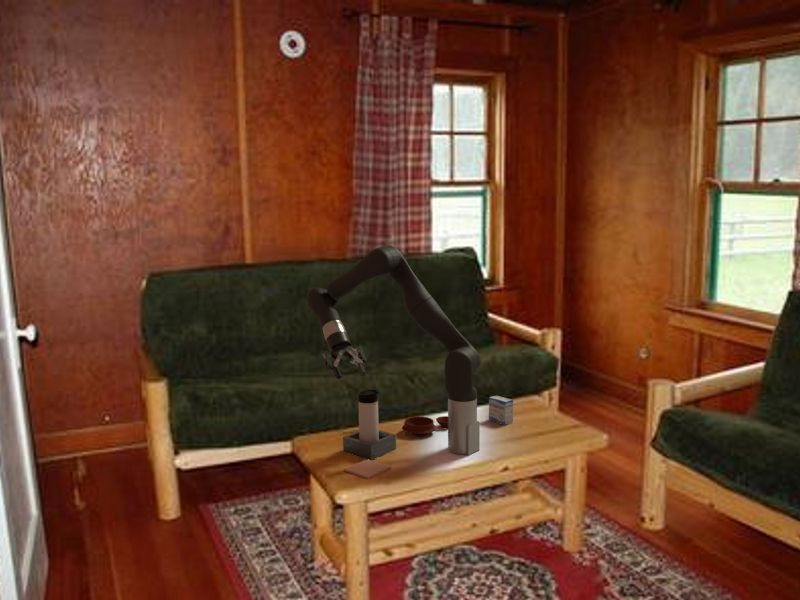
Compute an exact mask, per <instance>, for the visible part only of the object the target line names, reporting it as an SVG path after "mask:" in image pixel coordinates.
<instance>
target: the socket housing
mask: <svg viewBox="0 0 800 600" xmlns="http://www.w3.org/2000/svg"><path fill="white" fill-rule="evenodd" d="M342 449H343V450H342V452H343V453H345V452H346V453H345V454H348V453H350V454H349V455H352V454H353V455H352V456H355V455H356V457H358V456H359V458H361V457H362V458H361V459H364V458H365V459H369V460H371V461H374V460H376V459H378V458H380V457H382V456H384V454H385V455H387V454H389V453H391V452H393V450H394V451H396V450H397V435H396V434H395V433H391V432H388V431H385V430H380V429H379V440H377V441H375V442H372V443H368V442H364V441H361V440H359V430H357V431H354V432H352V433H350V434H347V435H344V436H342ZM395 449H396V450H395ZM386 453H387V454H386ZM377 457H378V458H377ZM375 458H376V459H375ZM365 459H364V460H365ZM373 459H374V460H373Z"/></svg>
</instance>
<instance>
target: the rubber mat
mask: <svg viewBox="0 0 800 600" xmlns="http://www.w3.org/2000/svg"><path fill="white" fill-rule="evenodd" d="M388 469H389V470H390V469H392V467H391V465H387V464H384V463H381V462H377V461H375V460H368V459H363V460H360V461H359V462H357V463H354V464H352V465H350V466H348V467H345V468H344V469H343V471H344V472H346V473H349V474H352V475H356V476H359V477H360V478H361V477H362V478H364V479H367V480H369V479H372V478H374V477H376V476H379V475H380V474H382V472H383V473H385V472H386V470H387V471H388ZM384 471H385V472H384Z"/></svg>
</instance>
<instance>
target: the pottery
mask: <svg viewBox="0 0 800 600" xmlns="http://www.w3.org/2000/svg"><path fill="white" fill-rule="evenodd" d="M435 421H436V422H437V423H438V425H439V426H440V428H441V429H444V428H446V429H448V415H447V416H443V415H442V416H438V417H436V418H435V420H434V419H433V418H431V417H428V416H426V417H425V416H411V417H408V418H406V419H405V420H404V421H403V422H404V424H403V425H402V427H401V429H402V431H403V432H406V433H408V434H410V433H411V434H412V435H411V434H410V435H411V436H413V437H424V436H427V435H428V434H430V433H432V432H435V431H436V429H437V426H436V425H435V424H434V422H435Z"/></svg>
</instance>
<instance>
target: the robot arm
mask: <svg viewBox="0 0 800 600" xmlns="http://www.w3.org/2000/svg"><path fill="white" fill-rule="evenodd" d="M387 275H390V276H391V278H393V280H394V281H395V283H396V284H397V285H398V286H399V288H400V290H401V294H402V299H403V304H404V306H405V309H406V311H407V313H408V314H409V316H410V317H411V319H412V320H413V321H414V322H415V324H416V325H417V326H418V327H419V328H421V330H423V331H424V332H425V333H426V334H428V335H429V336H431V337H433V338H434V339H435V340H437V341H438V342H439V343H440V344H441V345H442V346H443V347H444V348H445V349H446V351H447V352H448V354H447V355H446V358H445V361H444V381H445V382H444V383H445V390H446V392H447V417H448V428H447V449H448V451H449V452H451V453H452V454H456V455H467V456H471V455H472V454H474V453H475V452H477V451H479V450H480V433H481V432H480V431H481V430H480V428H481V427H480V426H481V425H480V424H481V423H480V420H478V391H477V388H476V387H474V386H473V377H472V376H473V374H474V373H476V372H478V371H479V370H480V368H481V365H482V364H481V363H482V360H481V356H480V354H479V352H478V351H477V350H476V349H475V347H474V346H473V345H472V344H471V343H470V342H469V341H468V339H466V337H464V336H463V334H461V332H460V331H459V330H458V329H457V328H456V327H455V325H454V324H453V322H452V321H451V320H450V318H449V317H448V316H447V315H446V313H445V312H444V311H443V310H442V308H441V307H440V305H439V304H438V303H437V301H436V300H435V299H434V298H433V296H432V295H431V294H430V293H429V291H428V289H426V288H425V286H424V284H422V282H421V280H419V278H418V277H417V276H416V275H415V273H414V271H413V270H412V269H411V266H410V265H409V263H408V262H407V260H406V258H405V256H404V255H403V254H402V252H401V251H400V250H399V249H398V248H397V247H395V246H394V245H385V246H384V245H383V246H380V247H376V248H374V249H372V250H371V251H370V252H369V253H367V254H366V255H365V256H364V257H363V259H362V260H361V261H359V262H358V263H357V264H356V265H354V266H353V267H351V268H350V269H348V270H347V271H345V272H344V273H341V274H340V275H338V276H337V277H335V278H333V279H332V280H331V281H329V282H328V284H327V286H326V288H321V287H312V288H310V289H309V291H308V292H307V293H306V294H307V295H306V300H307V301H306V302H307V304H308V306H309V308H310V310H311V311H312V313H313V314H314V315H315V317H316V318H317V320H319V323H320V326H321V330H322V331H323V337H324V340H325V341H326V343H327V347H328V350H329V351H327V350H325V351H324V353H323V354H322V359H323V362H324V365H325V369H326V370H327V371H329V370H331V371H333V374H334V376H335V377H334V378H336V379H337V380H338V381H339V380H341V379H342V377H343V376H342V372H341V371H340V367H338V365H339V363H340V364H346V363H347V364H348V363H351V364H353V365H355V366H357V369H358V371H359V374H360V376H361V377H364V376H365V374H366V372H367V370H366V369H365V366H364V365H366V363H367V361H368V358H367V356H366V354H365V353H364V350H363V348H362V346H358V347H357V348H353V346H352V343H351V341H350V338H349V335H348V332H347V330H346V327H345V326H344V324H343V322H342V320H341V317H340V315H339V313H338V311H337V309H335V308H334V307H336V306H337V304H338V303H340V301H342V299H343V298H345V297H346V296H348V295H349V294H351V293H352V292H354V291H355V290H357V289H358V288H359V287H360V286H361V285H362V284H363V283H365V282H366V281H368V280H371V279H374V278H377V277H382V276H387ZM331 358H332V359H334V363H333V364H332V361H331Z"/></svg>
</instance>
